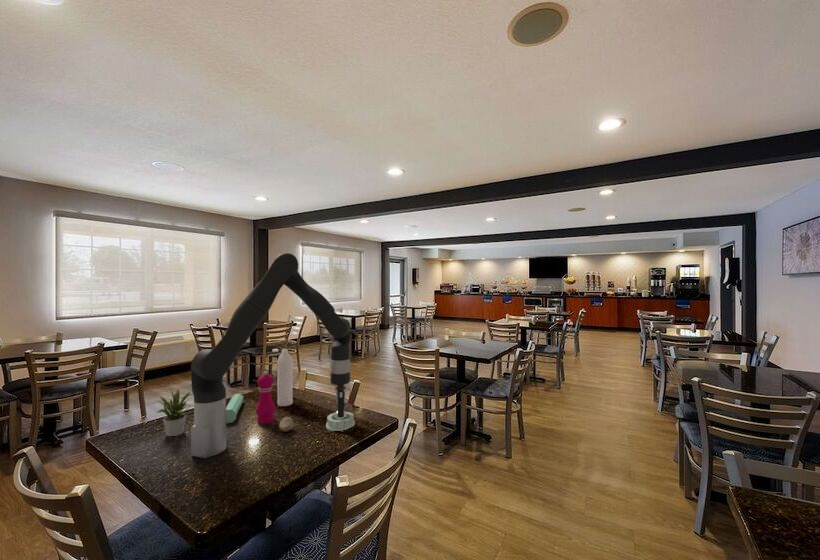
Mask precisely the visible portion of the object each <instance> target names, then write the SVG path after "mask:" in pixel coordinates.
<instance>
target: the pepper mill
mask: <svg viewBox="0 0 820 560" xmlns="http://www.w3.org/2000/svg"><path fill="white" fill-rule="evenodd" d="M274 382H275V381H274V377H273V376H272V375H270V374H269V372H268V370H264V371H263V373H262V375H260V376H259V377H258V378H257V385H258V392H259V399H258V402H257V405H256V406H255V407H256V408H255V414H256V415H257V417H256V422H257V424H261V425H266V424H269V423H273V422H274V421H275V415H274V414H275V411H276V404H275V402H274V400H273V398H272V391H273V384H274Z"/></svg>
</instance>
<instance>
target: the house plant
mask: <svg viewBox="0 0 820 560" xmlns="http://www.w3.org/2000/svg"><path fill="white" fill-rule="evenodd" d="M170 392H171V396H172V398H170V399H169V401H168V400H166V398H165V397H162V396H161V395H156V396H157V397H158V398H159V399H161V401H160V400H158V399H157V400H156V402H159V403H161V404H162V405H163V408H160V409H158V411H157V412H156V413H155V414H158V413H159V414H160V413H164V414H165V415H166V416H165V417H164V418H162V420H163V425H164V431H165V436H166V435H167V436H176V437H178V436H177V435H179V436H181V435H183V434H182V433H184V430H185V425H186V424H185V423H186V420H187V414H186V413H181V412H182V411H183V410H184V409H185V408H186V410H188V409H189V408H190V407H193V406H194V403H193V404H191V405H190V404H189V405H188V403H187V402H188V401H190V399H191V397H190V398H189V396H191V395H193V392H192V390H189V391H188V392H187V393H186V394H185V395H184V396H182V397H181V395H180V390H179V388H177V390H176V391H175V393H173V391H172V390H170ZM180 400H181V401H180ZM180 434H181V435H180ZM167 436H166V437H167Z"/></svg>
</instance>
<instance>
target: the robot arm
mask: <svg viewBox="0 0 820 560" xmlns="http://www.w3.org/2000/svg"><path fill="white" fill-rule="evenodd" d="M267 269H268V270H267V271H266V273H265V274H264V275H263V277H262V279H261V280H260V281H259V282H258V283H256V285H255V286H254V287H253V289H252V290H251V291H250V292H249V293H248V295H247V296H246V297H245V298H244V299H243V300H242V302H241V303H240V304H239V305H238V306H237V308H236V309H235V310H234V312H233V314H232V316H231V319H230V321H229V324H228V325H227V326H228V327H227V328H226V331H225V332H224V333H225V334H224V335H223V336H222V338H221V339H220V340H219V342H218V343H217V344H216V345H215V346H214V347H213V348H206V349H201V350H200V351H198V352H197V353H196V354H195V355H194V356H193V358H192V360H191V365H190V375H191V376H190V378H191V380H190V381H191V393H193V394H192V395H193V404H194V405H193V425H192V426H191V427H190V435H191V436H190V438H191V439H190V443H191V444H190V446H191V447H190V448H191V449H190V451H191V452H190V453H191V454H190V455H191V457H197V458H200V459H201V458H202V459H208V458H210V457H214V456H216V455H219V454H221V453H223V452H224V451H225V450H226V449H227V423H226V407H227V389H226V387H225V385H224V382H223V378H222V377H224V376H225V375H226V373H228V371H229V369H230V368H231V366H232V364H233V362H234V361H235V359H236V357H238V355H239V352H240V351H241V349H242V348H243V347H244V345H245V344H246V343H247V341H248V339H250V337H251V336H252V334H253V333H254V331H255V330H256V329H257V327H258V326H259V325H260V324H261V322H262V321H263V320H264V318H265V317H266V315H267V314H268V313H269V311H270V309H271V307H272V306H273V303H274V301H276V298H277V295H278V293H279V292H280V290H281V288H282V287H283V286H286V287H287V288H288V289H289V290H291V291H292V292H293V293H294V294H295V295H296V296H297V297H298V298H299V299H300V300H301V301H302V302H303V303H304V304H305V305H306V306H307V308H308V309H310V311H311V312H312V313H313V314H314V315H315V316H316V317H317V318H318V319H319V320H320V321H321V323H322V325H323V326H324V329H326V331H327V332H328V333H329V334H330V335H331V337H332V341H333V342H332V345H331V347H330V348H331V349H330V359H331V360H330V365H329V366H330V375H329V376H330V383H331V384H332V385H333V386H334V388H335V390H334V391H335V392H334V393H335V402H336V404H337V405H336V408H337V409H336V410H337V411H338V417H339V418H341V417H344V411H345V406H346V405H345V401H346V392H347V390H346V389H347V388H346V386H345V385H348V384H350V382H351V360H350V344H351V343H350V341H351V335H352V333H351V332H352V330H351V329H352V327H351V323H350V321H349V320H348V319H347V318H344V317H340V316H339V314H338V313H337V312H336V310H335V308H334V306H333V305H332V304H331V303H330V301H328V299H327V298H326V297H325V296H324V295H323V294H322V293H320V291H318V290H316V288H313V287H312V285H310V284H308V283H307V282H306V280H304V279H303V277H302V275H301V274H300V273H299V271H298V270H299V261H298V258H297V257H296V256H295V255H294V254H293V253H288V252H284V253H280V254H279V255H277V256H276V257H275V258H274V259H273V261H272V262H271V264H270V266H269V268H267Z"/></svg>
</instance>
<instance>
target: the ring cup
mask: <svg viewBox="0 0 820 560" xmlns="http://www.w3.org/2000/svg"><path fill="white" fill-rule="evenodd" d="M345 412H346V413H347V419H344V420H334V414H335V413H336V412H332V413H330V414H328V415H327V418H326V421H327V422H326V423H325V428H326V430H327V431H330V432H334V431H341V432H344V431H343V430H347V429H349V428H351V427H353V426H354V425H355V426H356V421H355V415H354V413H352V412H349V411H345ZM355 426H354V427H355ZM354 427H353V428H354ZM347 431H348V430H347Z"/></svg>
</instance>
